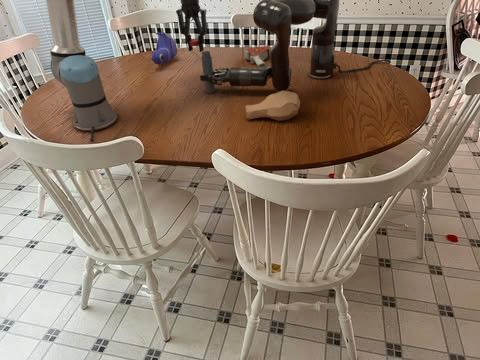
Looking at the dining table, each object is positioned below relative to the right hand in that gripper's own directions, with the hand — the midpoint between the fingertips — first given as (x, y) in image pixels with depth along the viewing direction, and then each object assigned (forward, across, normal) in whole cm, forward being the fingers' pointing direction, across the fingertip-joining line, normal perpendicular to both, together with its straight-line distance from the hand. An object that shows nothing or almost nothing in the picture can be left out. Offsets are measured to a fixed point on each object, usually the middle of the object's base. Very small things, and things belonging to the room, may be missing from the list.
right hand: (202, 76), depth 149 cm
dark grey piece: (-3, 0, +7) cm, 7 cm away
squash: (-33, +22, +7) cm, 40 cm away
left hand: (+7, -17, -5) cm, 19 cm away
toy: (+31, -34, +7) cm, 46 cm away
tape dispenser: (-17, -39, +7) cm, 43 cm away
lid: (+7, -17, -10) cm, 21 cm away
